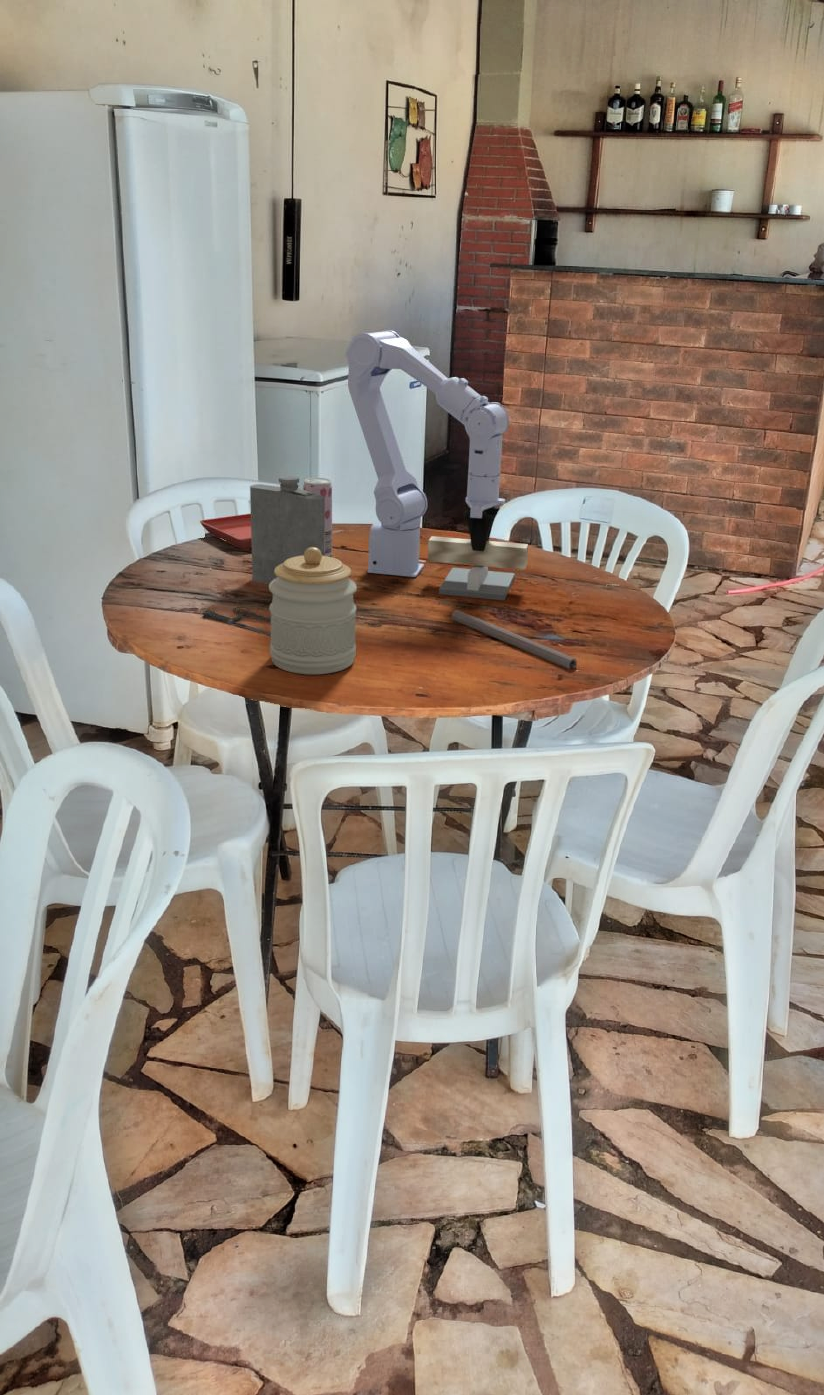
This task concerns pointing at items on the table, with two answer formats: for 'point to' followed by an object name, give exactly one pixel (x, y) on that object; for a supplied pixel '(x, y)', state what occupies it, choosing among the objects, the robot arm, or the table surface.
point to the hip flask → (283, 525)
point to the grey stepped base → (477, 583)
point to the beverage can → (325, 489)
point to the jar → (312, 615)
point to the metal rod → (515, 640)
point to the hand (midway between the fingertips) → (479, 547)
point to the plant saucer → (231, 529)
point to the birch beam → (477, 553)
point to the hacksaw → (240, 616)
